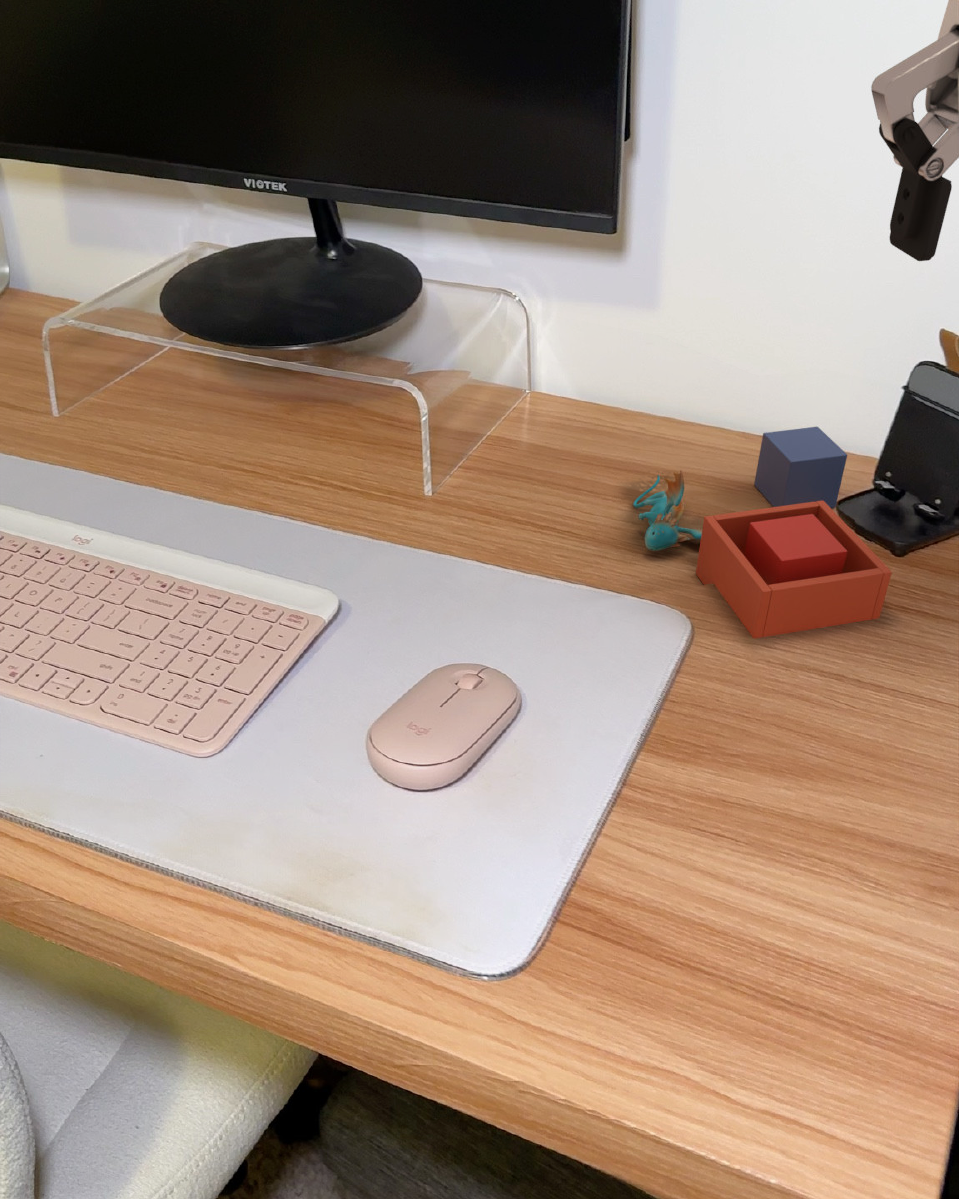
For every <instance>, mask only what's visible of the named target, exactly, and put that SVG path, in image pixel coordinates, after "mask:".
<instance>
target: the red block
mask: <svg viewBox="0 0 959 1199" xmlns="http://www.w3.org/2000/svg"><path fill="white" fill-rule="evenodd" d="M846 554H847V550H846V549H845V548H844V547H843V546H842V545H841V544H840V543H839V542H838V541H837V539H836V538H835V537H834V536H833V535H832V534H831V533H830V532H829V531H828V530H827V529H826V528H825V527H824V525H823V524H822V523H821V522H820V521H819V520H818V519H817V518H816V517H815V516H814V515H813V514H809V515H801V516H794V517H787V518H780V519H773V520H765V521H758V522H751V523H750V526H749V532H748V537H747V543H746V548H745V554H744V556H745V558H746V559H747V560H748V561H749V563H750V564H751V565H752V566H753V568H754V569H755V570H756V571H757V573H758V574H759V575H760V576H761V578H762V579H763V580H764V582H765V583H766V584H767V585H771V584H778V583H784V582H791V581H797V580H804V579H810V578H817V577H824V576H830V575H837V574H842V570H843V566H844V562H845V558H846Z"/></svg>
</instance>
